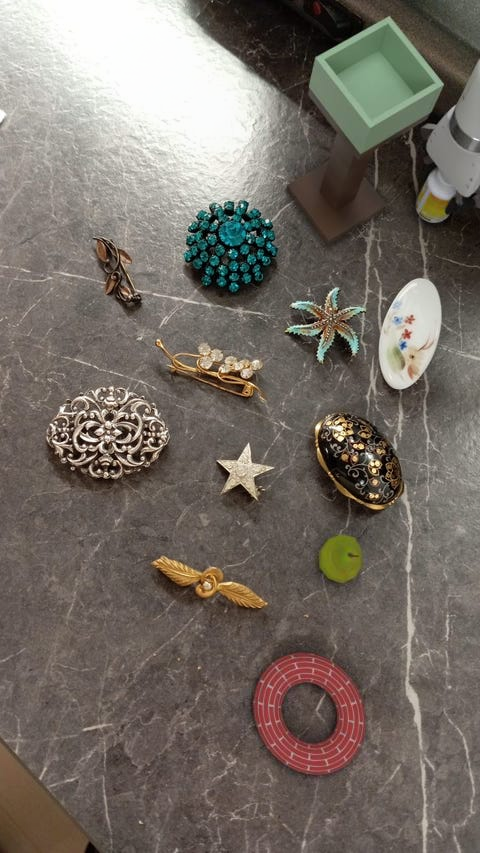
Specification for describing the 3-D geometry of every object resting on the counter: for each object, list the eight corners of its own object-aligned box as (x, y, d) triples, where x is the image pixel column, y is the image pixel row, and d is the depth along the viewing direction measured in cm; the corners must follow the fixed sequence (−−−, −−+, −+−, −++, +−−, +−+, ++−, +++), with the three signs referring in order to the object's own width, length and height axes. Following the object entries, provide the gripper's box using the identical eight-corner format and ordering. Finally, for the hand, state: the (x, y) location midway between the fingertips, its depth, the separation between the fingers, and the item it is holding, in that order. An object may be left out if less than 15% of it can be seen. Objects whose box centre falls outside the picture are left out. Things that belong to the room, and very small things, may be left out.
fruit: (321, 532, 126) (335, 520, 114) (364, 544, 126) (382, 533, 114) (310, 577, 124) (323, 569, 113) (353, 589, 124) (371, 582, 113)
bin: (379, 46, 116) (389, 15, 110) (431, 112, 114) (444, 84, 108) (308, 86, 113) (315, 57, 108) (360, 154, 112) (369, 128, 106)
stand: (343, 156, 141) (379, 47, 116) (384, 210, 139) (430, 112, 114) (285, 189, 139) (309, 87, 113) (327, 245, 137) (360, 153, 112)
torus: (230, 688, 120) (232, 689, 117) (318, 631, 123) (322, 630, 119) (296, 796, 117) (299, 800, 114) (384, 734, 120) (390, 737, 116)
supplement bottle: (455, 219, 139) (475, 185, 129) (421, 228, 138) (440, 195, 129) (442, 187, 140) (462, 152, 131) (409, 196, 140) (426, 161, 130)
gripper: (541, 160, 117) (495, 224, 134) (461, 61, 120) (426, 137, 137) (497, 187, 115) (455, 249, 133) (417, 87, 118) (387, 161, 136)
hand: (441, 192), depth 135 cm, fingers closed on supplement bottle, 5 cm apart
